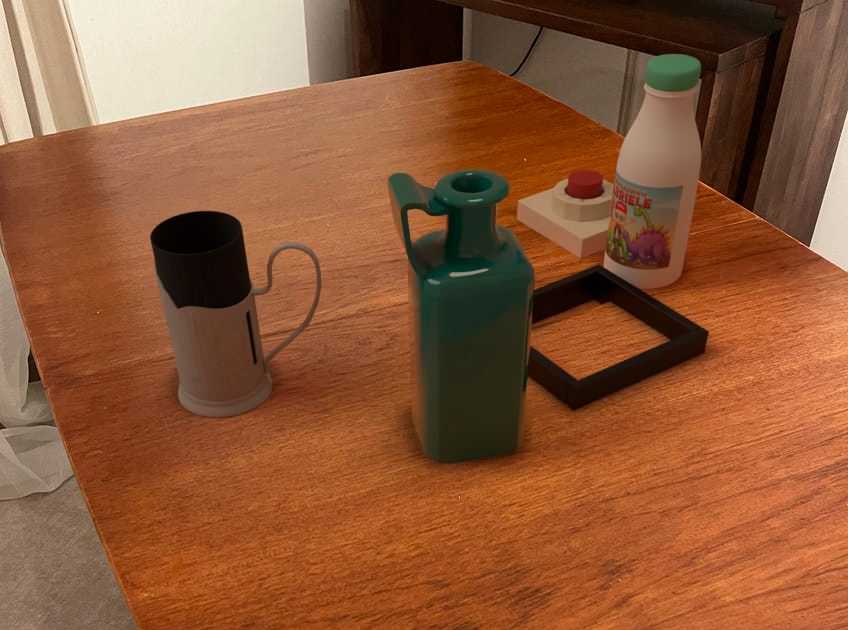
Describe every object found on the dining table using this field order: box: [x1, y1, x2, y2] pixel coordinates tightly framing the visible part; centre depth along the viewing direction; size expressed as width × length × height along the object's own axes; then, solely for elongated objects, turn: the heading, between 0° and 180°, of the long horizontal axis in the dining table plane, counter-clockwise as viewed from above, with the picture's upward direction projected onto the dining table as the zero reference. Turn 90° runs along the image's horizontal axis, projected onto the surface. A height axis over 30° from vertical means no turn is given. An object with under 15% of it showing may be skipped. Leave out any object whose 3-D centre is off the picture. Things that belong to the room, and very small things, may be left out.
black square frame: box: [528, 264, 710, 411], centre depth 93 cm, size 15×15×3 cm
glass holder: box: [149, 210, 322, 418], centre depth 88 cm, size 9×14×15 cm, turn 88°
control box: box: [516, 178, 614, 259], centre depth 109 cm, size 11×9×4 cm
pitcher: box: [387, 168, 536, 464], centre depth 78 cm, size 10×8×22 cm
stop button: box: [567, 169, 604, 200], centre depth 107 cm, size 4×4×2 cm
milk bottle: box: [603, 53, 702, 290], centre depth 95 cm, size 8×8×20 cm
